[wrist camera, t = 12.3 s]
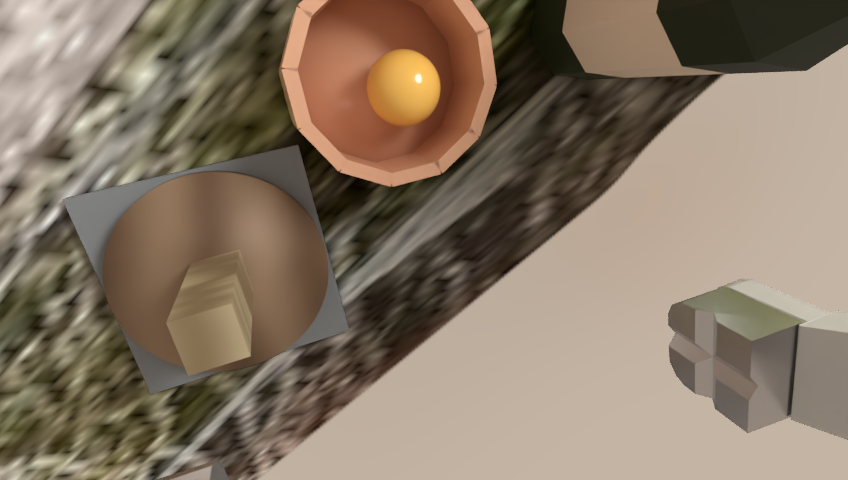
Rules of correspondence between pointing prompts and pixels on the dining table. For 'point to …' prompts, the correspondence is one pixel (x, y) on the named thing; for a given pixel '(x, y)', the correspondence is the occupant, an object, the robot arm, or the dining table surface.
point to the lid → (215, 271)
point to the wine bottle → (686, 36)
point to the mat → (107, 206)
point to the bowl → (389, 83)
